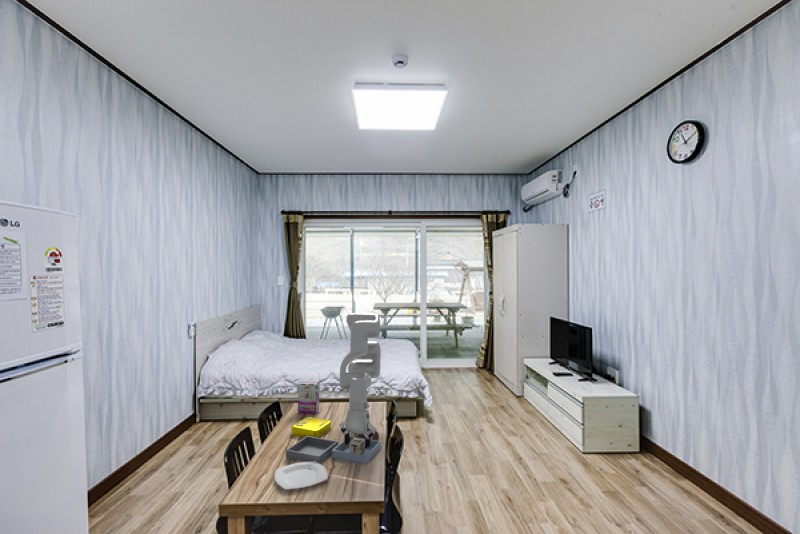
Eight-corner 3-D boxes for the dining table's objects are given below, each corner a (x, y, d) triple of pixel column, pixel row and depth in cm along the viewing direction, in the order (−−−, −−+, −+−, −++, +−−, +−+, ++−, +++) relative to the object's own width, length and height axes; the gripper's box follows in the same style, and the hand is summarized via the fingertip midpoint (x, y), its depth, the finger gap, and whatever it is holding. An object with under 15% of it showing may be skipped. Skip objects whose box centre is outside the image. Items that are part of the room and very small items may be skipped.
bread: (359, 446, 177) (359, 435, 177) (352, 436, 187) (352, 426, 188) (381, 442, 181) (382, 431, 181) (374, 433, 192) (374, 423, 192)
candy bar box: (319, 411, 222) (320, 382, 222) (316, 414, 217) (316, 384, 218) (301, 409, 224) (301, 381, 224) (297, 412, 219) (298, 383, 219)
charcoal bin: (306, 443, 178) (307, 435, 178) (337, 449, 173) (337, 441, 173) (285, 458, 163) (285, 450, 163) (318, 465, 157) (319, 456, 158)
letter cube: (354, 449, 171) (354, 437, 172) (364, 451, 170) (364, 439, 170) (349, 454, 167) (349, 442, 167) (359, 456, 165) (359, 444, 165)
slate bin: (348, 443, 178) (349, 436, 179) (380, 449, 173) (381, 441, 173) (331, 458, 163) (331, 450, 164) (366, 465, 158) (366, 456, 158)
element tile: (315, 440, 183) (316, 430, 183) (289, 435, 188) (289, 425, 188) (332, 429, 197) (332, 419, 197) (307, 424, 202) (307, 415, 202)
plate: (269, 473, 151) (270, 468, 151) (318, 462, 160) (318, 458, 160) (280, 498, 134) (280, 492, 134) (333, 484, 144) (333, 479, 144)
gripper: (379, 405, 170) (378, 445, 169) (344, 401, 175) (343, 439, 174) (372, 410, 162) (371, 452, 162) (336, 405, 168) (335, 445, 167)
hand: (357, 445), depth 168 cm, fingers open, 9 cm apart
